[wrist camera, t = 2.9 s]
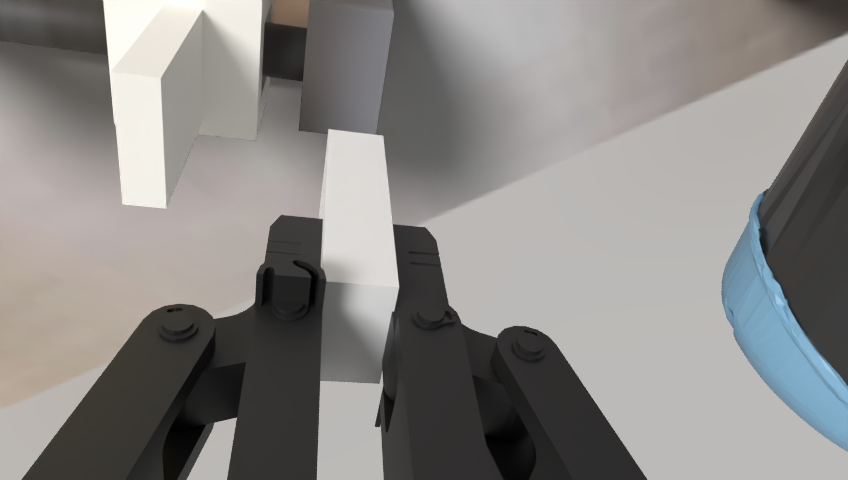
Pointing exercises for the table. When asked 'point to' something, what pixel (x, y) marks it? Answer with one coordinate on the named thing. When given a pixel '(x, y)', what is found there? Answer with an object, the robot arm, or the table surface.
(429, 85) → the table surface
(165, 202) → the sleeve
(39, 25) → the cord rack
